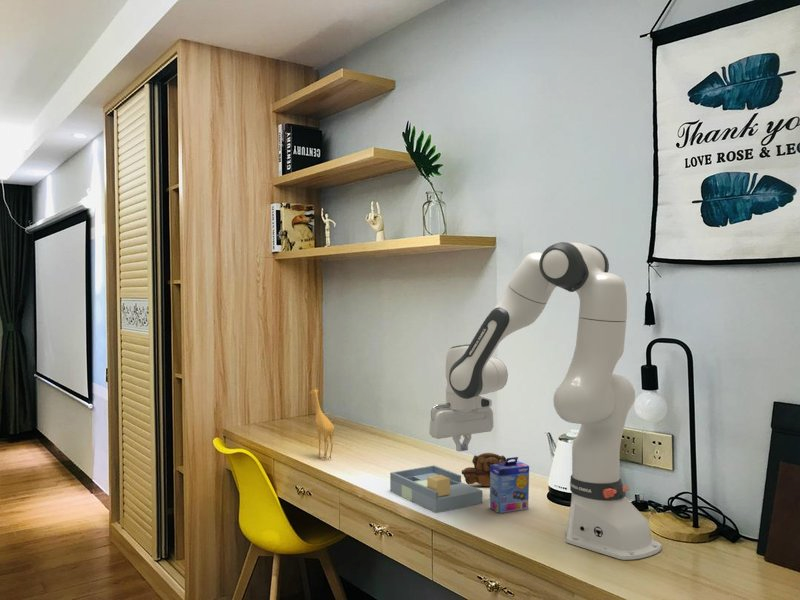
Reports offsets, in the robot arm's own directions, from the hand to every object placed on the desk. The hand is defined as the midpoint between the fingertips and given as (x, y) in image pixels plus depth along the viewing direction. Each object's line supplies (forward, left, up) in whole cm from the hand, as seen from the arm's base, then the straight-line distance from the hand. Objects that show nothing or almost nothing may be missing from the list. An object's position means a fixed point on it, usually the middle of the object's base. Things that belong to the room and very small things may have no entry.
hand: (462, 450), depth 187 cm
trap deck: (+9, +3, -15) cm, 17 cm away
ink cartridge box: (-11, -8, -15) cm, 20 cm away
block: (0, +8, -11) cm, 14 cm away
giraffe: (+70, +11, -15) cm, 72 cm away
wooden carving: (+9, -17, -15) cm, 24 cm away
